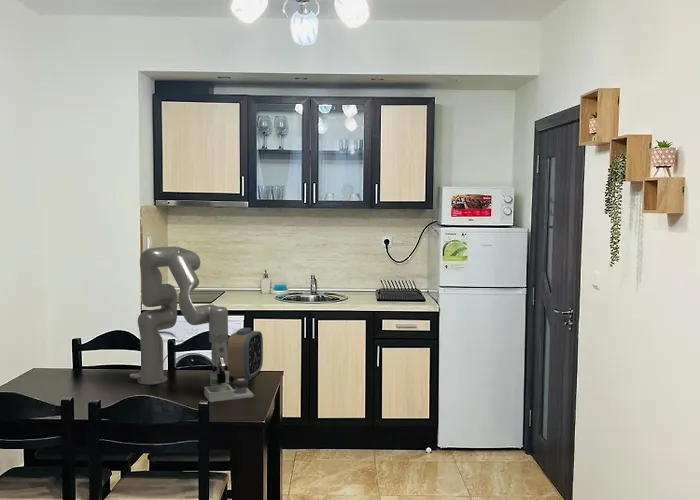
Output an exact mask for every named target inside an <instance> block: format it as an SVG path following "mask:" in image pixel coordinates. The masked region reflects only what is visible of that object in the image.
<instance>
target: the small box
mask: <svg viewBox="0 0 700 500" xmlns="http://www.w3.org/2000/svg"><path fill="white" fill-rule="evenodd" d="M217 373H218V370H217V371H214V372H213V371H212V372H210V375H209V376H210V379H209V380H210V382H209V384H210V385H209V386H216V385H217V386H224V385H226V384H230V376H229V371H228V370H225V377H226V382H225V383H220V384H218V383H217Z"/></svg>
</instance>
